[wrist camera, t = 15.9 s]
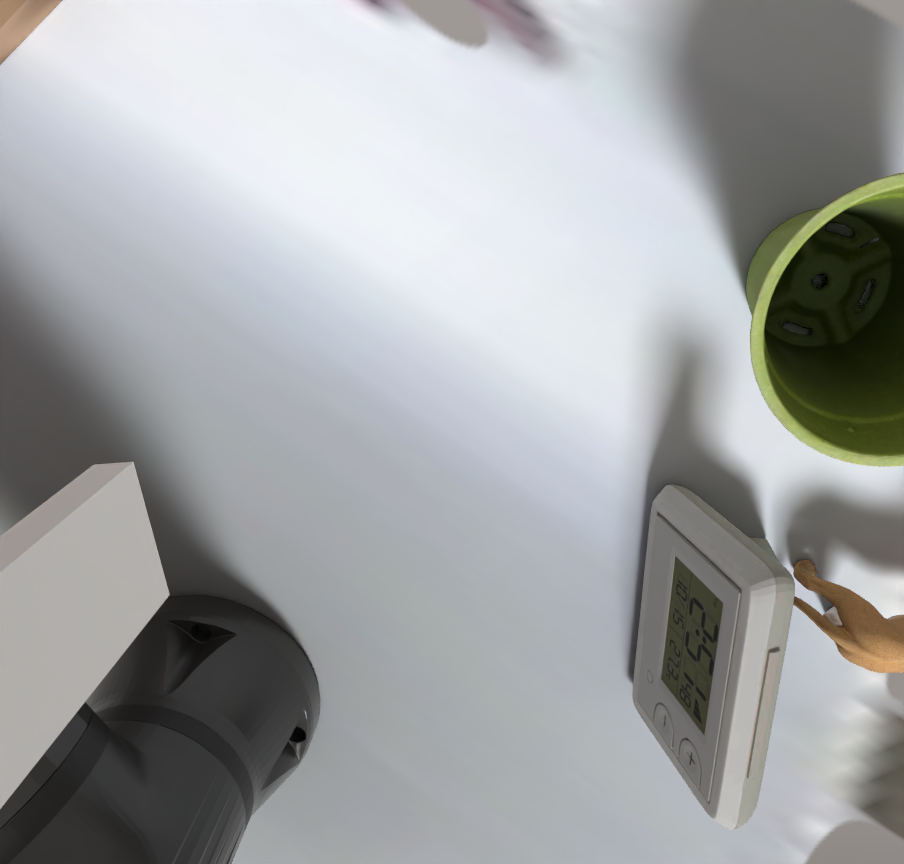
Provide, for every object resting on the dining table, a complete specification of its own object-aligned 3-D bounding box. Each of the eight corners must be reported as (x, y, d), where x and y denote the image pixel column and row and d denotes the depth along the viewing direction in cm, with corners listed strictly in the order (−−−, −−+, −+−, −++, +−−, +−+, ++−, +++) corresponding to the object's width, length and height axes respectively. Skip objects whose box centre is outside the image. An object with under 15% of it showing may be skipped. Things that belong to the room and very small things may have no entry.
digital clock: (659, 464, 47) (689, 556, 37) (813, 500, 47) (885, 601, 37) (586, 686, 53) (595, 816, 43) (722, 719, 53) (762, 856, 43)
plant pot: (943, 363, 43) (1070, 441, 33) (714, 402, 45) (764, 487, 35) (938, 131, 39) (1081, 136, 29) (688, 185, 41) (736, 208, 31)
